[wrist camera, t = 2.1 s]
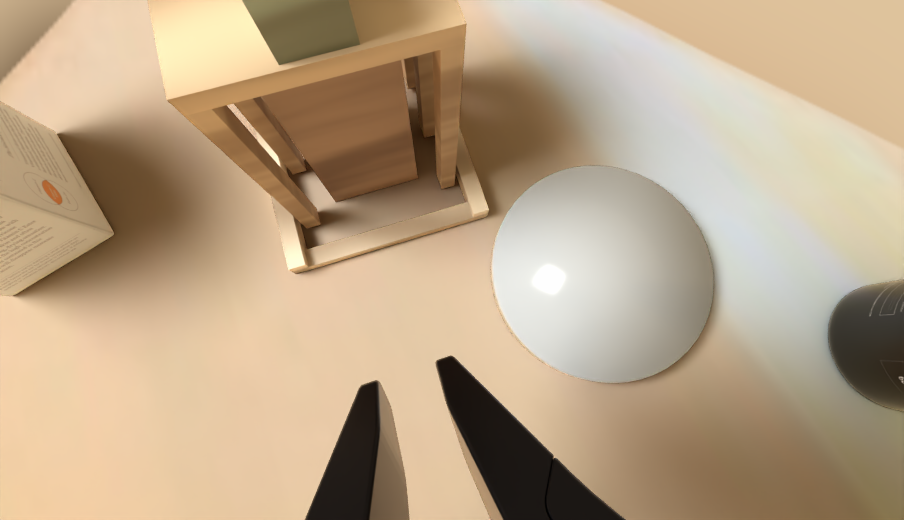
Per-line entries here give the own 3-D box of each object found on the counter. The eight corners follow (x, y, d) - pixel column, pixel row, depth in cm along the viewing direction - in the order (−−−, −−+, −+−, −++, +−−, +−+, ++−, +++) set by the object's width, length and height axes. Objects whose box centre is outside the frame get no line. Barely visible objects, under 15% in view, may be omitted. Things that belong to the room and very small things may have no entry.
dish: (601, 430, 21) (610, 435, 20) (446, 265, 23) (446, 261, 22) (742, 278, 23) (758, 274, 22) (589, 136, 25) (597, 126, 24)
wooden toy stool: (454, 185, 24) (475, -105, 9) (306, 228, 23) (49, -8, 8) (415, 72, 26) (376, -339, 10) (276, 109, 25) (13, -277, 10)
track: (486, 216, 24) (491, 201, 22) (296, 273, 23) (279, 264, 21) (400, -27, 28) (396, -62, 25) (232, 14, 27) (212, -19, 24)
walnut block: (417, 178, 24) (398, 41, 14) (335, 202, 24) (249, 80, 13) (394, 106, 25) (359, -73, 15) (315, 128, 25) (219, -41, 14)
